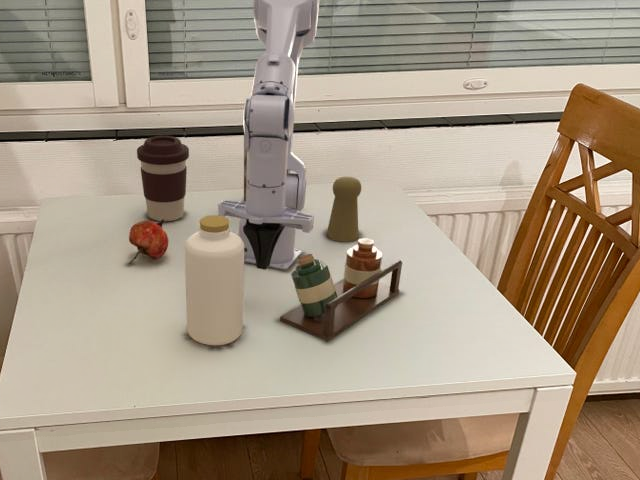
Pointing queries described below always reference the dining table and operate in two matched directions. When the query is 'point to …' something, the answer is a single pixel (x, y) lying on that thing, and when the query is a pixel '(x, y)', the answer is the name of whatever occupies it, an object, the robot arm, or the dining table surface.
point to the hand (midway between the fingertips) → (263, 266)
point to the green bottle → (313, 285)
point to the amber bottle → (362, 267)
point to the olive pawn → (344, 210)
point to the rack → (346, 306)
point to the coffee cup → (164, 176)
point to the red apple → (149, 239)
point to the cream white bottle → (214, 282)
